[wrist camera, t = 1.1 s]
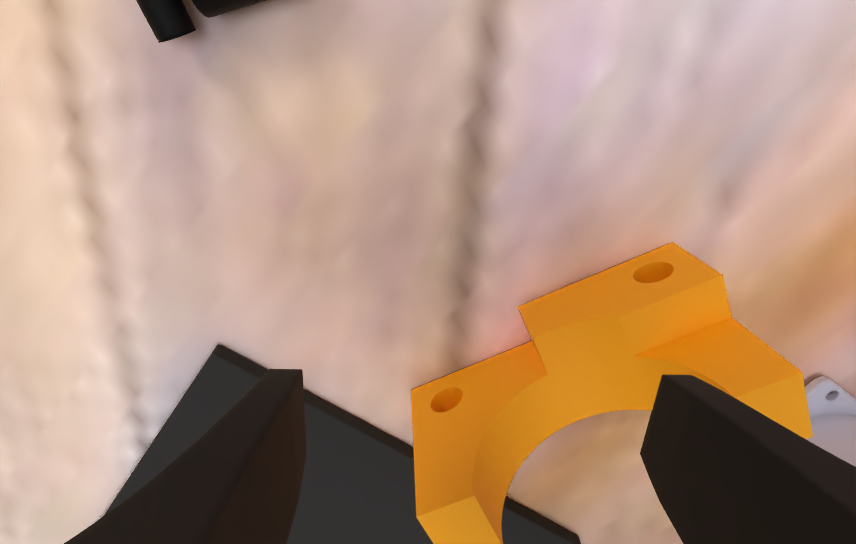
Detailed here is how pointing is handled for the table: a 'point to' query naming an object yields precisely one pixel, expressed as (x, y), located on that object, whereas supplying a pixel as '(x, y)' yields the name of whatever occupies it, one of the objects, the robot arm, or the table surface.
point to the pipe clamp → (585, 381)
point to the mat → (325, 467)
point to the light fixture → (183, 14)
